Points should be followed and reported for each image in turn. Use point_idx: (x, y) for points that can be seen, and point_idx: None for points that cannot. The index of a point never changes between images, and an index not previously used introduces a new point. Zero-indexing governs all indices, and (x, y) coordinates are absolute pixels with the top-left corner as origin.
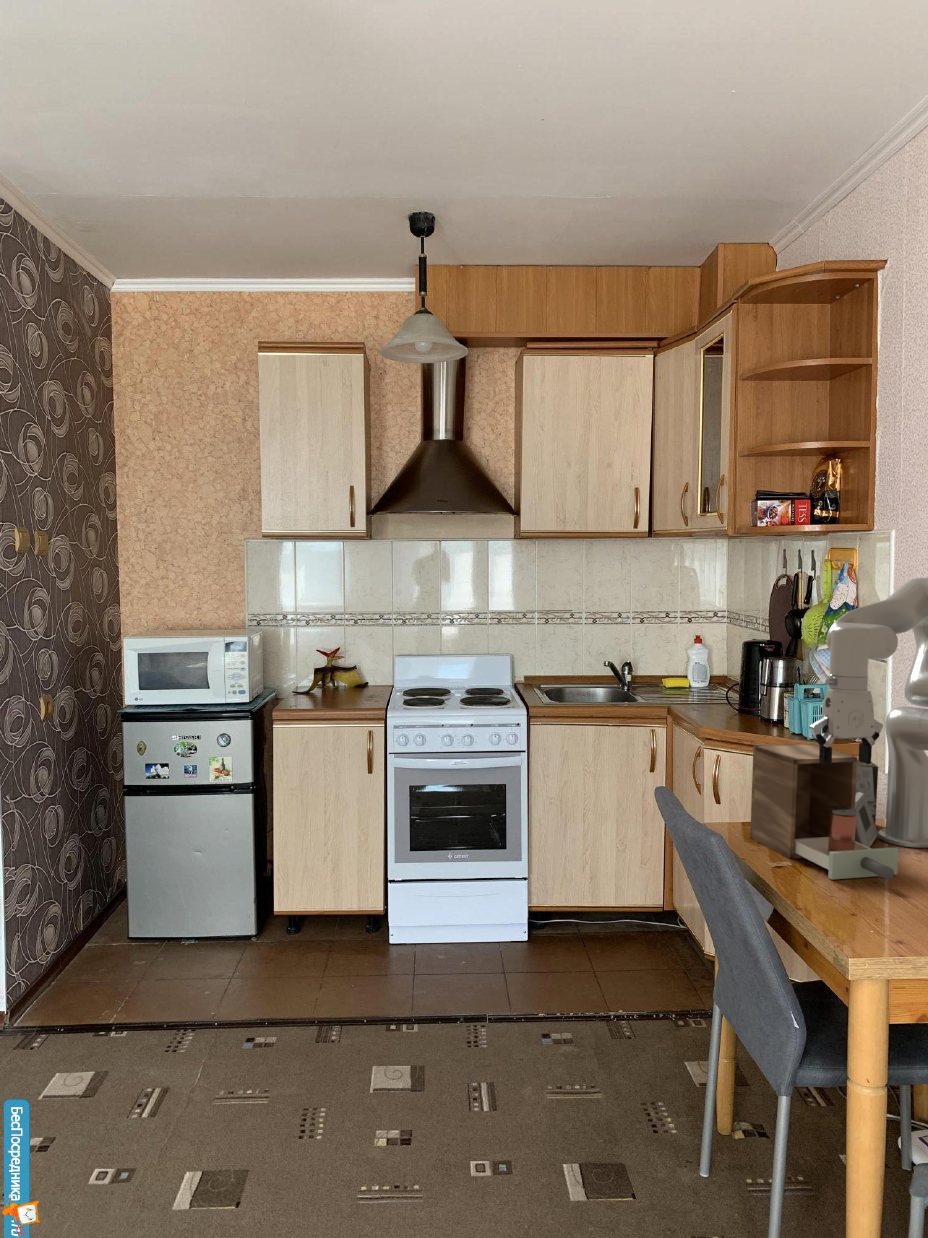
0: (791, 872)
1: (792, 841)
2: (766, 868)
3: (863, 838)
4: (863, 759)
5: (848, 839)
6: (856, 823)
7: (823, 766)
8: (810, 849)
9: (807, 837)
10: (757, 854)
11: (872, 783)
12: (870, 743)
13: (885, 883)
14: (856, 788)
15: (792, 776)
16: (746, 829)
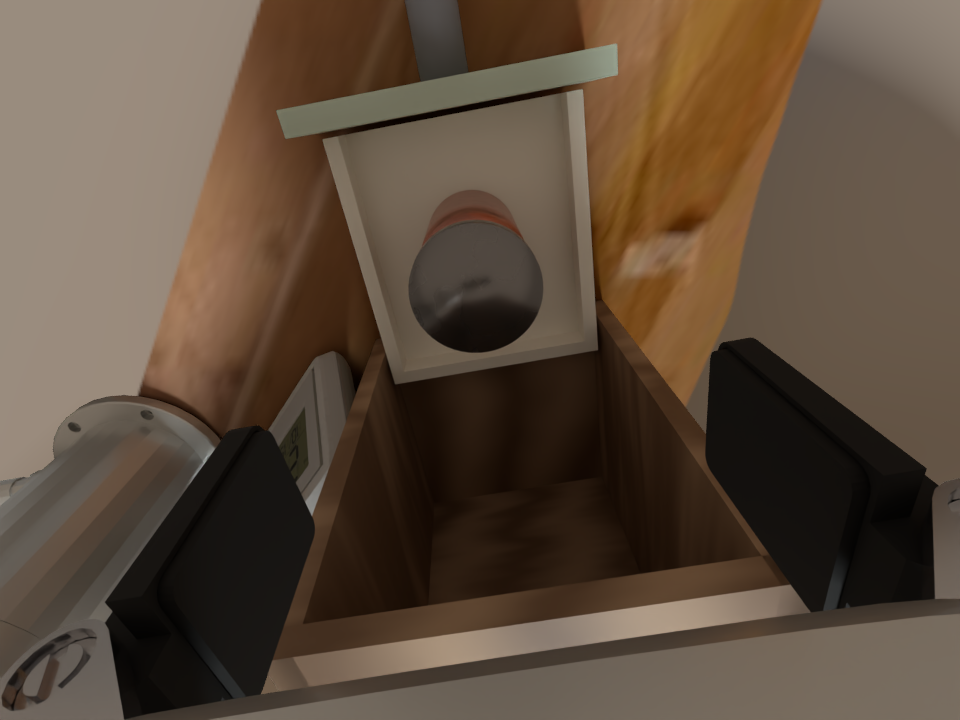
0: (677, 162)
1: (611, 323)
2: (735, 207)
3: (326, 374)
4: (281, 499)
5: (470, 202)
6: (339, 410)
7: None
8: (590, 242)
9: (463, 457)
10: (676, 343)
11: None
12: (98, 649)
13: (392, 14)
14: None
15: None
16: None
